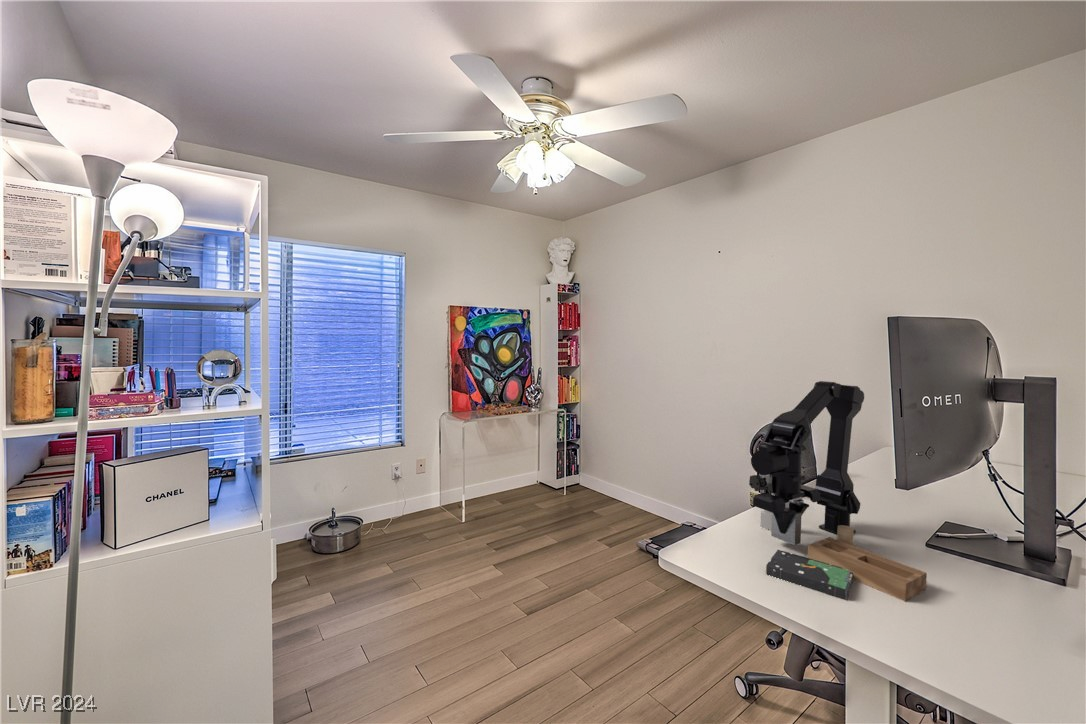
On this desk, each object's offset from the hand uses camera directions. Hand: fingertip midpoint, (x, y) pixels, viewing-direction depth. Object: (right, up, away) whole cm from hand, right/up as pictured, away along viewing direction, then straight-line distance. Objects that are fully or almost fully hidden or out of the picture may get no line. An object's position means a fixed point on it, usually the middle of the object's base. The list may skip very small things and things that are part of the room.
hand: (785, 532), depth 109 cm
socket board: (+11, -5, -12) cm, 16 cm away
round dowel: (+14, -4, -1) cm, 14 cm away
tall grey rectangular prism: (0, -2, 0) cm, 2 cm away
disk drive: (-2, -5, -13) cm, 15 cm away
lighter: (+3, -4, +11) cm, 12 cm away
